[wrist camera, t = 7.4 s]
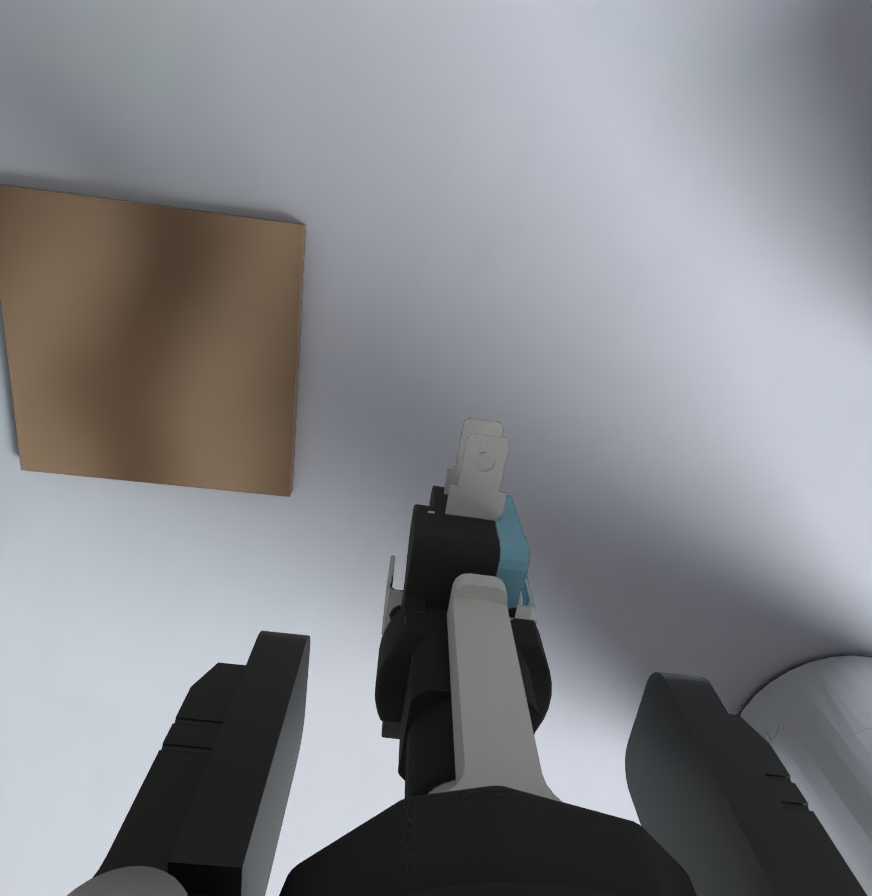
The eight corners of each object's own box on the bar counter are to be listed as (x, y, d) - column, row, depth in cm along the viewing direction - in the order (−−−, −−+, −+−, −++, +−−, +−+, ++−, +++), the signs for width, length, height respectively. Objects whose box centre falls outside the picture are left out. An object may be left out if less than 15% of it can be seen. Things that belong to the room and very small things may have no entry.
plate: (305, 224, 21) (302, 225, 21) (292, 490, 25) (289, 496, 24) (-2, 184, 20) (-14, 183, 20) (30, 463, 24) (20, 470, 23)
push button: (356, 393, 13) (156, 922, 3) (612, 430, 13) (1099, 998, 4) (325, 660, 15) (158, 1418, 6) (543, 684, 15) (731, 1434, 6)
